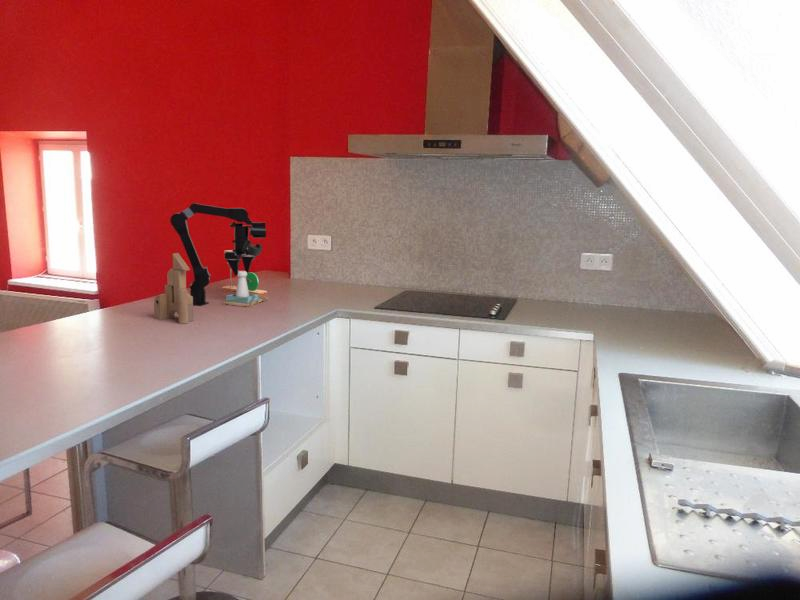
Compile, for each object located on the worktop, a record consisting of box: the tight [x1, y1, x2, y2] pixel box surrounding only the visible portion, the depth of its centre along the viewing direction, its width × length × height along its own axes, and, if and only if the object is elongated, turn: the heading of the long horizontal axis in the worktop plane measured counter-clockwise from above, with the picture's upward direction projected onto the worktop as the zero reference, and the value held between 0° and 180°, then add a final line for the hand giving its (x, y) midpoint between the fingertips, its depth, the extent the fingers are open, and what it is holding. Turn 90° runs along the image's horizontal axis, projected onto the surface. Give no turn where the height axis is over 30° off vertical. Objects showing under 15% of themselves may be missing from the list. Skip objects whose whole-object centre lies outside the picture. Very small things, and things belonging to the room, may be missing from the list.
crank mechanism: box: [221, 249, 268, 294], centre depth 280 cm, size 25×7×19 cm, turn 61°
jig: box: [222, 292, 269, 307], centre depth 255 cm, size 18×12×4 cm, turn 166°
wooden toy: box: [153, 252, 194, 325], centre depth 215 cm, size 15×7×25 cm, turn 63°
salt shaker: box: [235, 270, 249, 297], centre depth 251 cm, size 6×6×13 cm
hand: (241, 273), depth 251 cm, fingers open, 9 cm apart
